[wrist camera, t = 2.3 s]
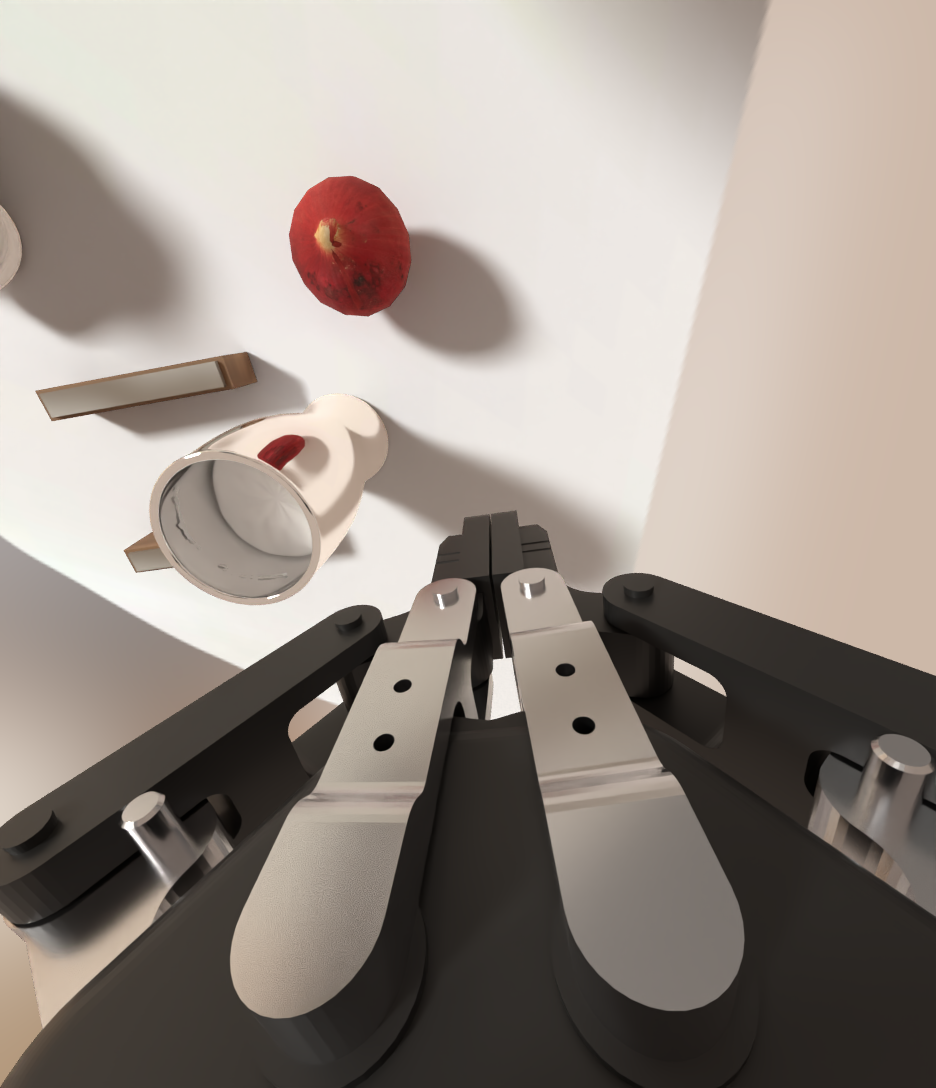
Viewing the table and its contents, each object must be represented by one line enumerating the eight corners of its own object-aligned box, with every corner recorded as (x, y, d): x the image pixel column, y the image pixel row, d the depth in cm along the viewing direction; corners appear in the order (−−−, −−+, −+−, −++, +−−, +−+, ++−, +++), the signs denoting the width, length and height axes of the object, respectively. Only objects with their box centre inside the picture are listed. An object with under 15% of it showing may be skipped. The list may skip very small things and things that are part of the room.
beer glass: (405, 403, 30) (338, 476, 16) (384, 500, 33) (313, 627, 20) (298, 371, 29) (138, 420, 16) (287, 473, 32) (145, 585, 19)
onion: (436, 289, 27) (417, 280, 20) (350, 332, 28) (304, 338, 21) (390, 175, 25) (351, 118, 17) (299, 227, 26) (227, 193, 19)
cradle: (75, 384, 30) (30, 391, 27) (246, 351, 29) (219, 356, 26) (162, 553, 36) (133, 574, 33) (310, 532, 34) (293, 553, 31)
